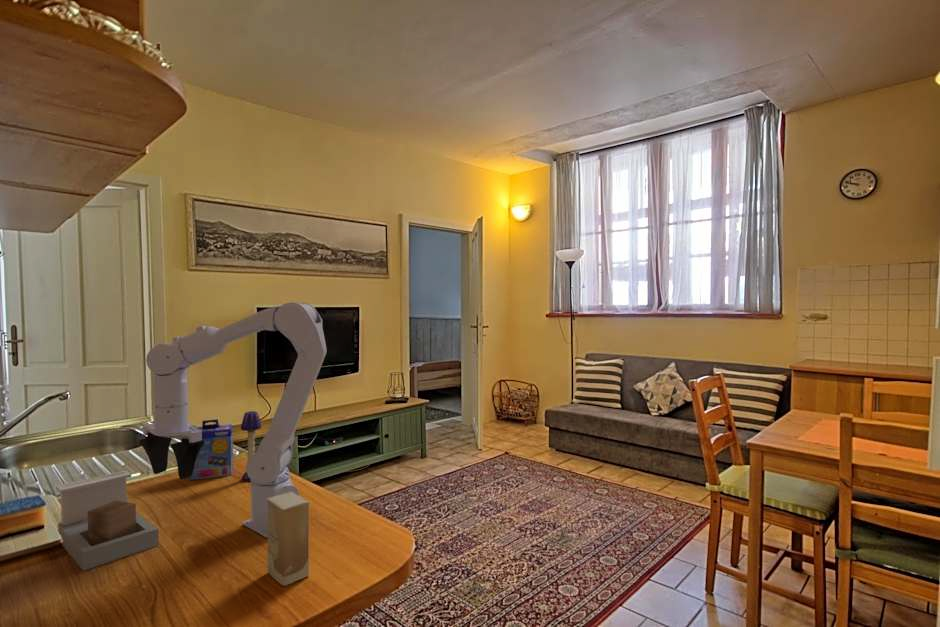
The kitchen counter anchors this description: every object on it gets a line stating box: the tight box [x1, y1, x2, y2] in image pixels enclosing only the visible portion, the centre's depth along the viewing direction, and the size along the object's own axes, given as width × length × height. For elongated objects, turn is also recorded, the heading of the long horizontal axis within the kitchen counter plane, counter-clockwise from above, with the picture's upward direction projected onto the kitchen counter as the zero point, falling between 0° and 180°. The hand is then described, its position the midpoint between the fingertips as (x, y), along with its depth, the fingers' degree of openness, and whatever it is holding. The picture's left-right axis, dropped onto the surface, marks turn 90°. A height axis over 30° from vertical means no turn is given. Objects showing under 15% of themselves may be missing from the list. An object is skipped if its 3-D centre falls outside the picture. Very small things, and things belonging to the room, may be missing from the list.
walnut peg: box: [88, 501, 137, 546], centre depth 90 cm, size 5×5×7 cm
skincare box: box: [267, 492, 310, 587], centre depth 80 cm, size 6×4×12 cm
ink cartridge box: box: [188, 419, 234, 481], centre depth 128 cm, size 10×6×14 cm, turn 113°
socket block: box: [55, 470, 160, 571], centre depth 92 cm, size 18×11×10 cm, turn 50°
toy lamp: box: [240, 410, 262, 482], centre depth 125 cm, size 5×5×17 cm
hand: (172, 475), depth 97 cm, fingers open, 7 cm apart
